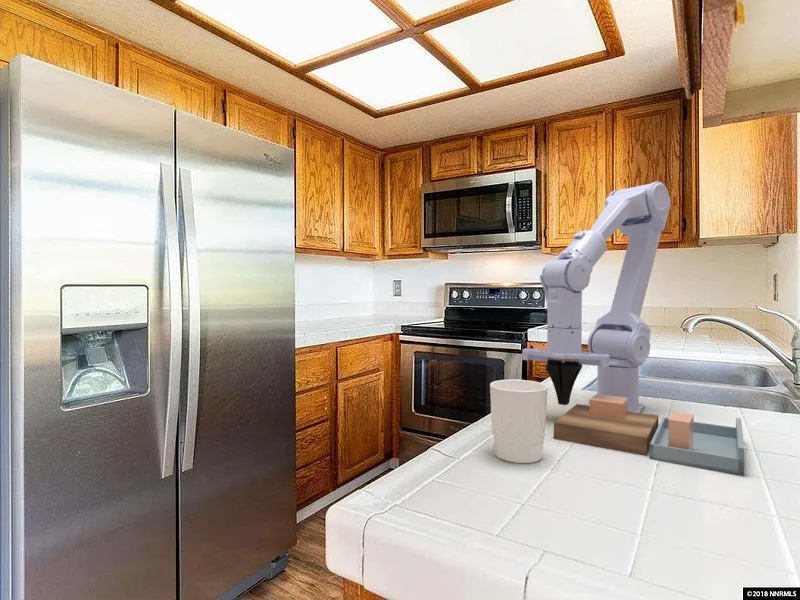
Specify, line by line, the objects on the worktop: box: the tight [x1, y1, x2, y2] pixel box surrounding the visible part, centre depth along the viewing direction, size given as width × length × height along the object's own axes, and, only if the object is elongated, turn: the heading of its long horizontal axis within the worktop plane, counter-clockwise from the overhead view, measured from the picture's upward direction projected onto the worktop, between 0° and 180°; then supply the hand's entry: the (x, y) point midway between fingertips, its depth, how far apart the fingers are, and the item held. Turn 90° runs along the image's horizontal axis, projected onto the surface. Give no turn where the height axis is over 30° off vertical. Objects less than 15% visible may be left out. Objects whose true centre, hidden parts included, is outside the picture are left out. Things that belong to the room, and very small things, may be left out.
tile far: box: [588, 393, 628, 419], centre depth 78 cm, size 5×5×2 cm
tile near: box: [668, 411, 695, 450], centre depth 65 cm, size 5×5×2 cm
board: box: [553, 403, 659, 456], centre depth 75 cm, size 14×13×2 cm
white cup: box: [489, 379, 549, 464], centre depth 66 cm, size 8×8×10 cm
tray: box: [649, 417, 745, 477], centre depth 68 cm, size 16×10×4 cm, turn 145°
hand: (563, 403), depth 82 cm, fingers closed
